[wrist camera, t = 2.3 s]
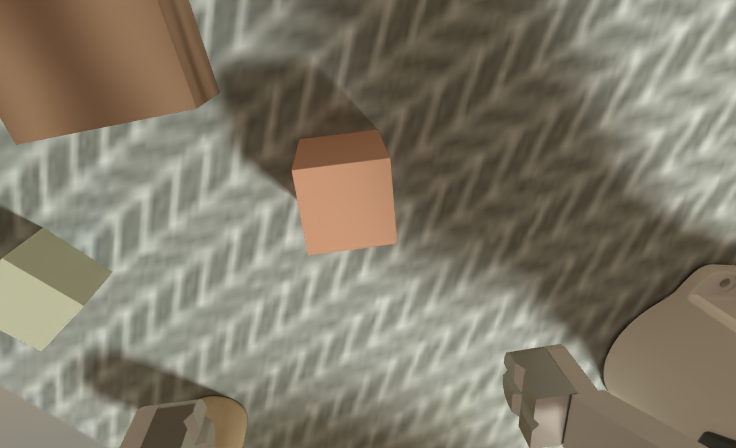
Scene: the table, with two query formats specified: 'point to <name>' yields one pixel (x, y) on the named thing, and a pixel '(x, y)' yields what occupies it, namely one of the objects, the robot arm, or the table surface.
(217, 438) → the candle
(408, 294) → the table surface
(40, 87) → the walnut block
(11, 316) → the sage block
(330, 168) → the terracotta block
